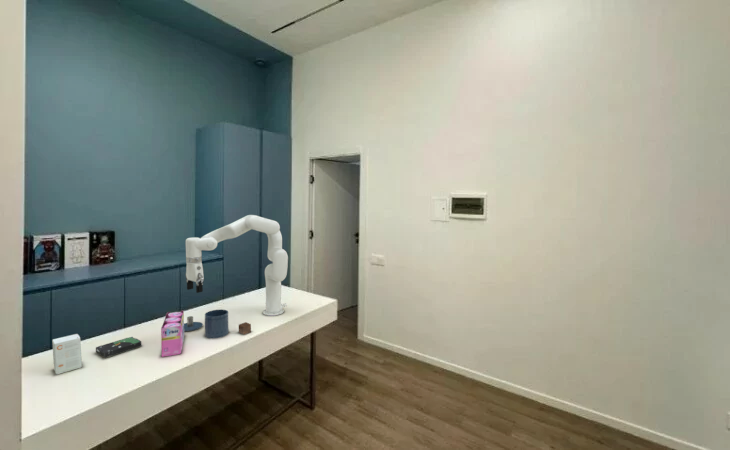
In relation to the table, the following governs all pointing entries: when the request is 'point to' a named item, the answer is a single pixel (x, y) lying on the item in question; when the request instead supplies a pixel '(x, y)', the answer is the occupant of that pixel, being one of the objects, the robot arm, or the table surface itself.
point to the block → (244, 328)
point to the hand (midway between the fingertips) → (194, 290)
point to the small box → (67, 353)
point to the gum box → (172, 333)
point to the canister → (216, 323)
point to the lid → (192, 324)
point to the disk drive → (118, 347)
